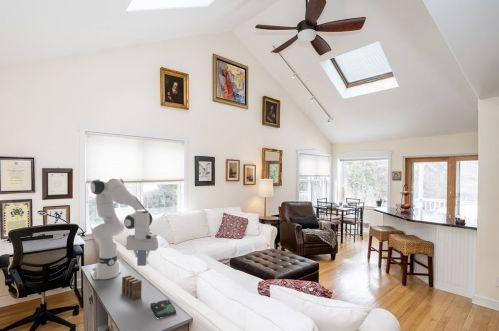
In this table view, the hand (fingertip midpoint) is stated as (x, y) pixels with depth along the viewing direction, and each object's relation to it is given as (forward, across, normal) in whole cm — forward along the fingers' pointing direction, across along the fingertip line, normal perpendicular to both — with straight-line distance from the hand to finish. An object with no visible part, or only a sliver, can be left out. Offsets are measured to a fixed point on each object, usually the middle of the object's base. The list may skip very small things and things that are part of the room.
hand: (141, 257), depth 170 cm
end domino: (+5, 0, 0) cm, 5 cm away
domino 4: (+22, +1, -8) cm, 24 cm away
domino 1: (+22, -10, -1) cm, 24 cm away
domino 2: (+22, -6, -4) cm, 23 cm away
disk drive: (+23, +23, -20) cm, 38 cm away
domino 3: (+22, -2, -6) cm, 23 cm away
